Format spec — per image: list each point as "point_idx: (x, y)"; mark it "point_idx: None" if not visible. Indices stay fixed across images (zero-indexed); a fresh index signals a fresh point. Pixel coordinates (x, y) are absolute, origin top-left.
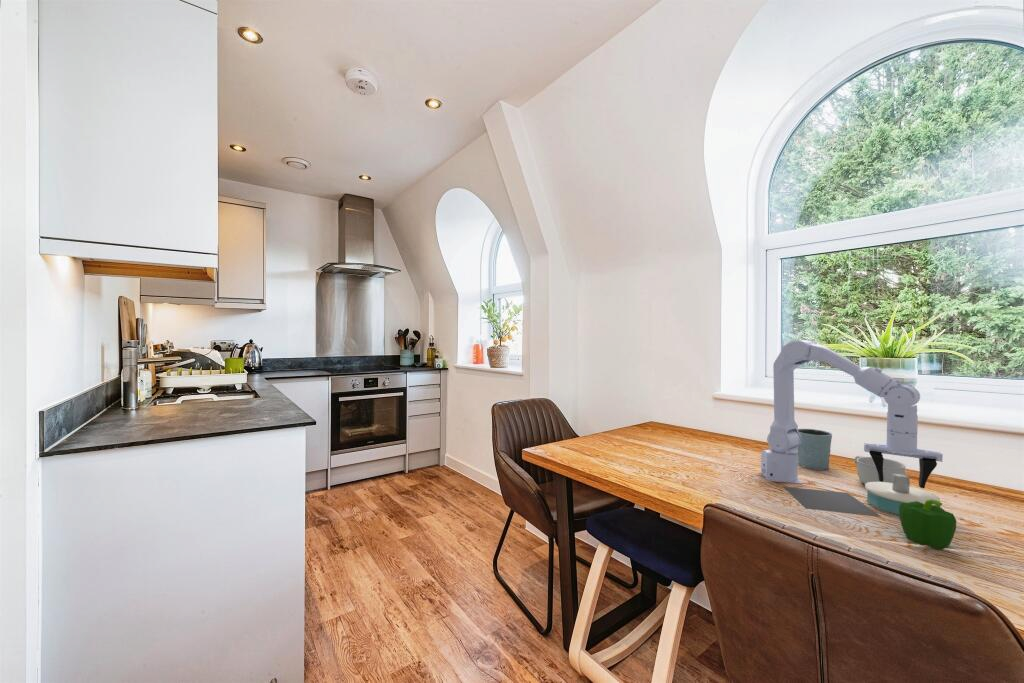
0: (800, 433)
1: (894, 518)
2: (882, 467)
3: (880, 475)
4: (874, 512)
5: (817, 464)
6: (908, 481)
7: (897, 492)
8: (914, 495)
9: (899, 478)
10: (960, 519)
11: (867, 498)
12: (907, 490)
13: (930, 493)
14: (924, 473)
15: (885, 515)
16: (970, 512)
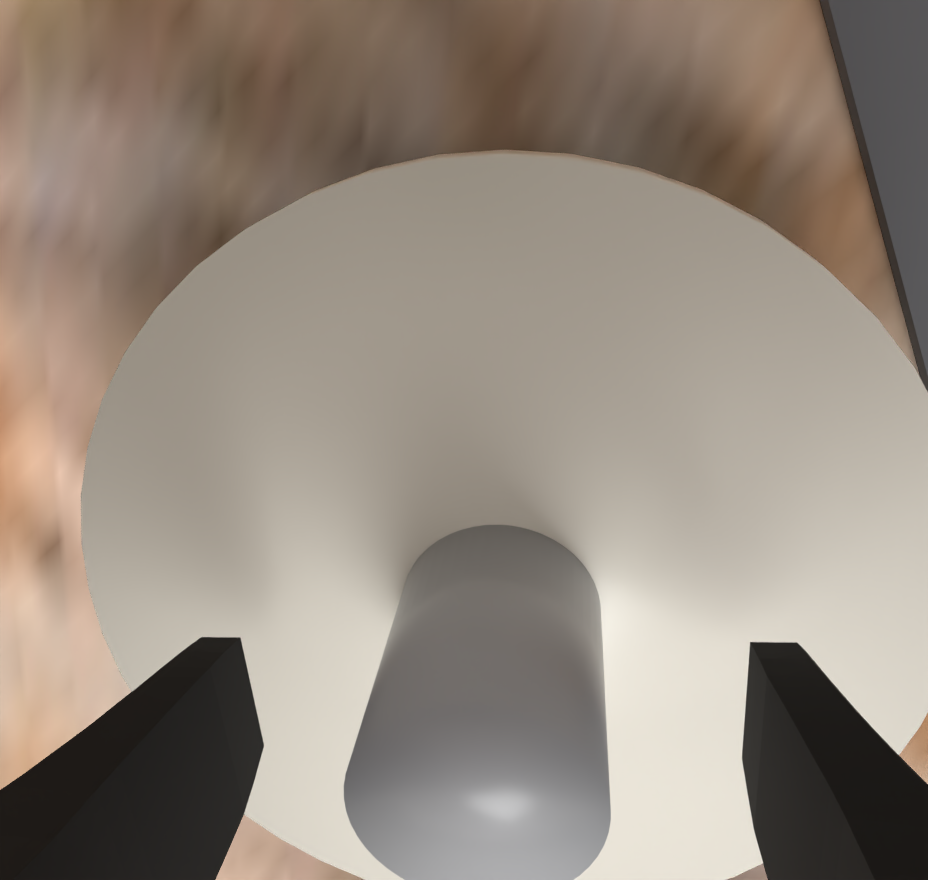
0: None
1: (619, 55)
2: (871, 852)
3: (835, 706)
4: (857, 30)
5: None
6: (377, 691)
7: (549, 513)
8: (348, 511)
9: (510, 688)
10: (55, 536)
11: None
12: (419, 573)
13: None
14: (38, 822)
15: (709, 108)
16: (17, 777)
